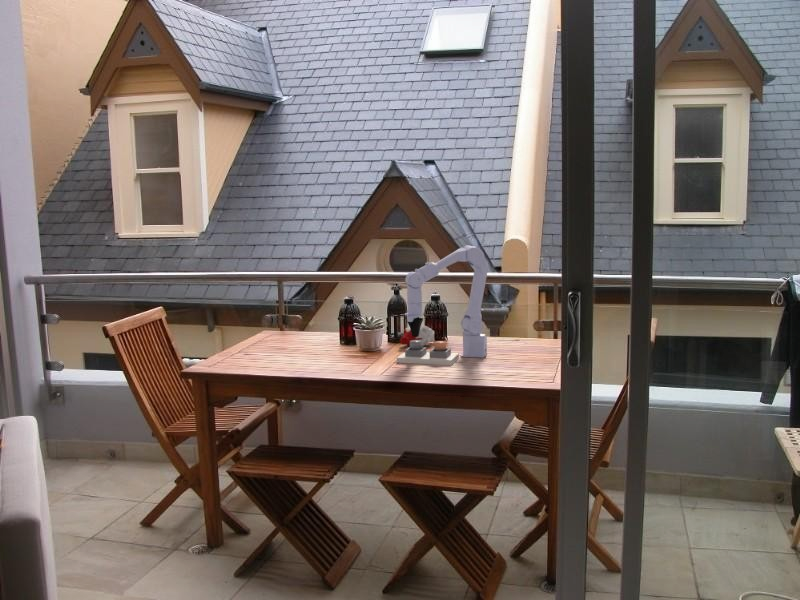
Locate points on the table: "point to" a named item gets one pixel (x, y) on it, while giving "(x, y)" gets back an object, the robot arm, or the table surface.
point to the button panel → (428, 356)
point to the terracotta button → (440, 345)
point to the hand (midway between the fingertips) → (415, 336)
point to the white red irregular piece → (423, 336)
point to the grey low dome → (415, 344)
